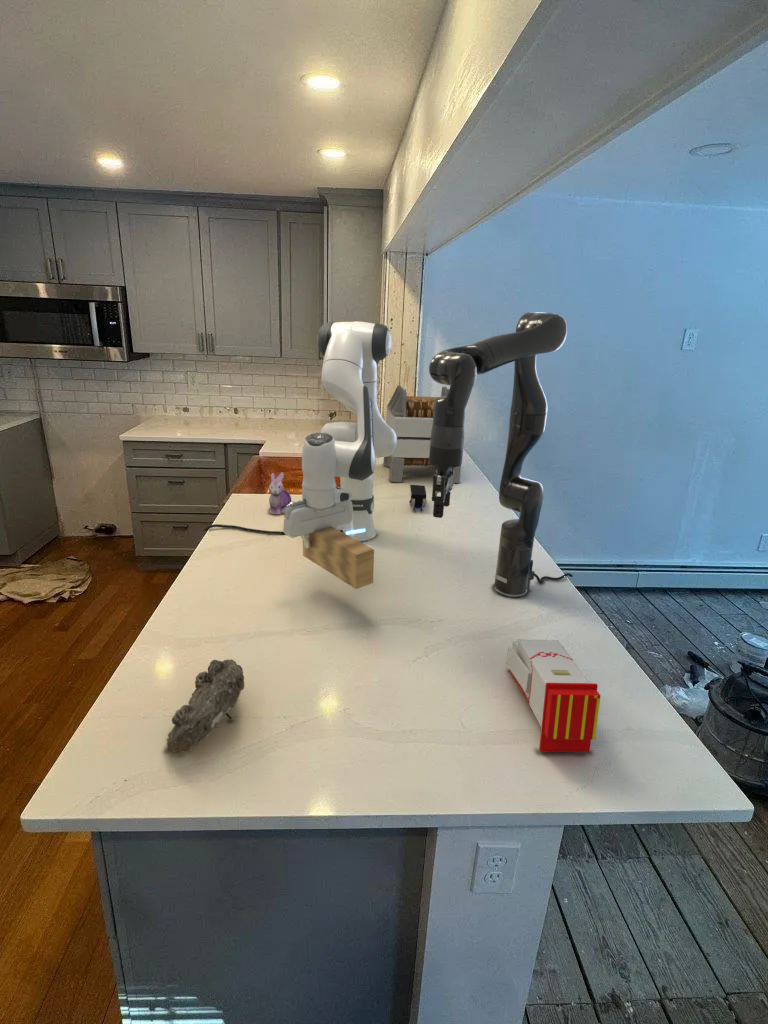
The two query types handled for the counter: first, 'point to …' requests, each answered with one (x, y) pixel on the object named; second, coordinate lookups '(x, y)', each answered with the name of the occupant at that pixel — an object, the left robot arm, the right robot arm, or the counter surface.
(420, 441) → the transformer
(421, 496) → the figurine character
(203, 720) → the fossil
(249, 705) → the counter surface
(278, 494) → the figurine
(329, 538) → the bar
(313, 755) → the counter surface
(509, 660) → the toy
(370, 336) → the left robot arm
